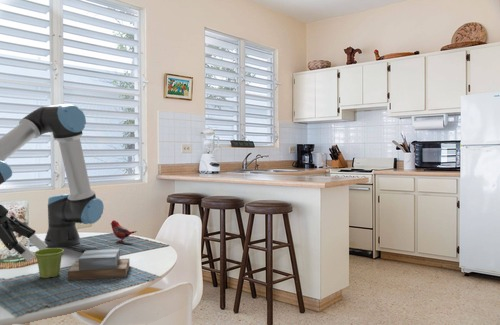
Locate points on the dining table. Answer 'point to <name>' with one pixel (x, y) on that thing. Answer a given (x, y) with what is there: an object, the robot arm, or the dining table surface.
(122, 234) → the decorative bird figurine
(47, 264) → the plant pot
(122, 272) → the brick stand
